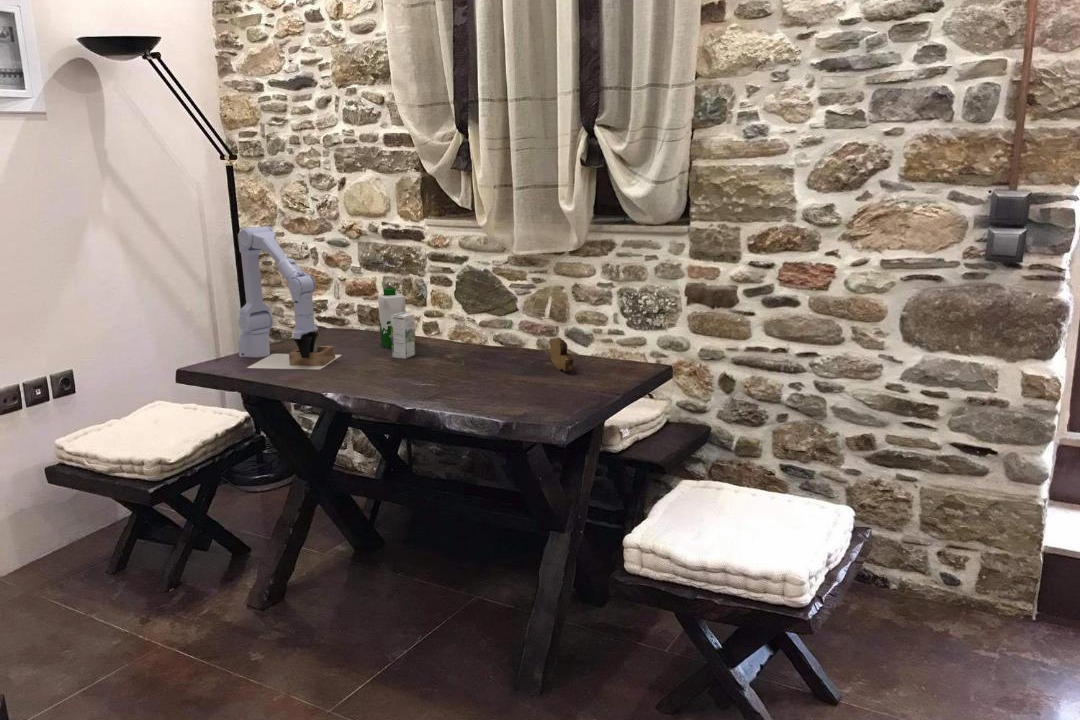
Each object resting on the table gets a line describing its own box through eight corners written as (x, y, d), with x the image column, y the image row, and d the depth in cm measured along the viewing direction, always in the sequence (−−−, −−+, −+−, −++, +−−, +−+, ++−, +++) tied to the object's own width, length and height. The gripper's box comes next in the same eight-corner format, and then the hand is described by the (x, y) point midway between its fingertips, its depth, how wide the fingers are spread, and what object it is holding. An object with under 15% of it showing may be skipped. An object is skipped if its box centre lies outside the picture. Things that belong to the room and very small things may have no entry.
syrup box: (401, 354, 297) (399, 311, 294) (416, 355, 294) (414, 313, 291) (391, 357, 292) (389, 314, 289) (406, 359, 289) (404, 316, 286)
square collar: (289, 365, 278) (288, 353, 277) (303, 357, 288) (302, 345, 287) (323, 366, 276) (322, 353, 275) (335, 358, 287) (334, 346, 286)
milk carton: (401, 342, 315) (399, 287, 311) (410, 347, 308) (407, 290, 303) (378, 345, 312) (375, 289, 307) (386, 349, 304) (383, 292, 299)
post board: (246, 371, 275) (244, 351, 274) (273, 357, 295) (271, 338, 293) (320, 373, 272) (319, 352, 271) (342, 358, 292) (340, 339, 290)
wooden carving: (579, 374, 268) (579, 342, 265) (565, 375, 266) (565, 343, 264) (557, 362, 282) (557, 332, 280) (544, 364, 281) (543, 333, 278)
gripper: (307, 318, 267) (310, 362, 270) (324, 310, 281) (327, 351, 284) (285, 318, 267) (288, 361, 271) (303, 310, 281) (306, 351, 285)
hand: (307, 356), depth 277 cm, fingers open, 3 cm apart
